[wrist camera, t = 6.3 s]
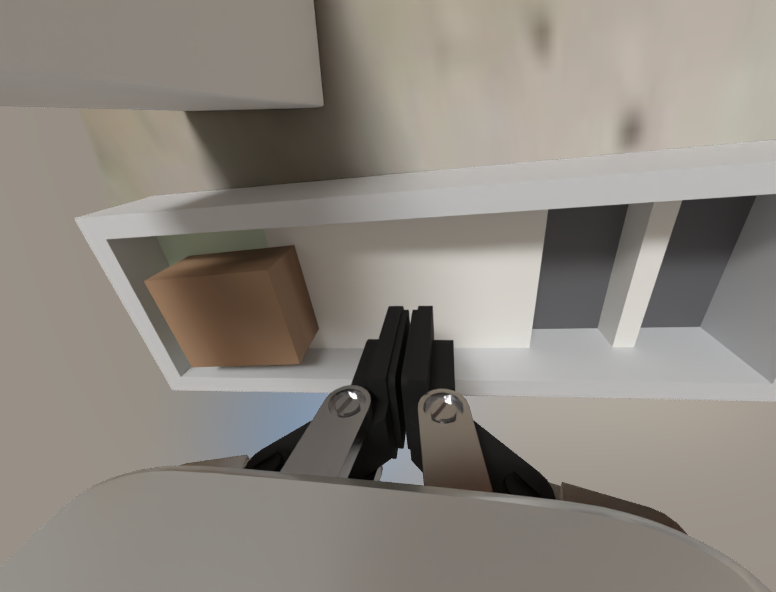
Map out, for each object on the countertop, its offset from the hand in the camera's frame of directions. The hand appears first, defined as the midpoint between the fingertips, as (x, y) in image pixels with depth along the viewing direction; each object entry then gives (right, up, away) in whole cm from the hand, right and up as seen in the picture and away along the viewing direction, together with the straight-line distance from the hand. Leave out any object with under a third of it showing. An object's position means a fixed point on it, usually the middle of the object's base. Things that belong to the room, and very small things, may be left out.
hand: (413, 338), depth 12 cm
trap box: (+1, +3, +5) cm, 6 cm away
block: (-8, +2, +5) cm, 10 cm away
